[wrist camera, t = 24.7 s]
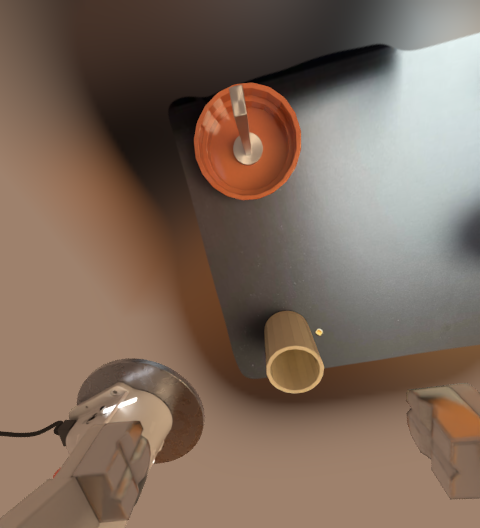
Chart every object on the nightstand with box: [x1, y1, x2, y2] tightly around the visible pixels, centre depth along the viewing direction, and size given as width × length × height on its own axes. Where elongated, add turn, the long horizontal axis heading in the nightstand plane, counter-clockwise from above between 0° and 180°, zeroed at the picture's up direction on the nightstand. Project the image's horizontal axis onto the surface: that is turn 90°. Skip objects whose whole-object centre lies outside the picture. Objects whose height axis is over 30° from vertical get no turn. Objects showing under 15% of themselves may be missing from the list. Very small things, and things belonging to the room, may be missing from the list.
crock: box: [264, 311, 324, 393], centre depth 43 cm, size 8×8×11 cm
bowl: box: [194, 83, 301, 200], centre depth 37 cm, size 14×14×6 cm
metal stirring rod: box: [229, 85, 263, 165], centre depth 28 cm, size 4×4×24 cm
